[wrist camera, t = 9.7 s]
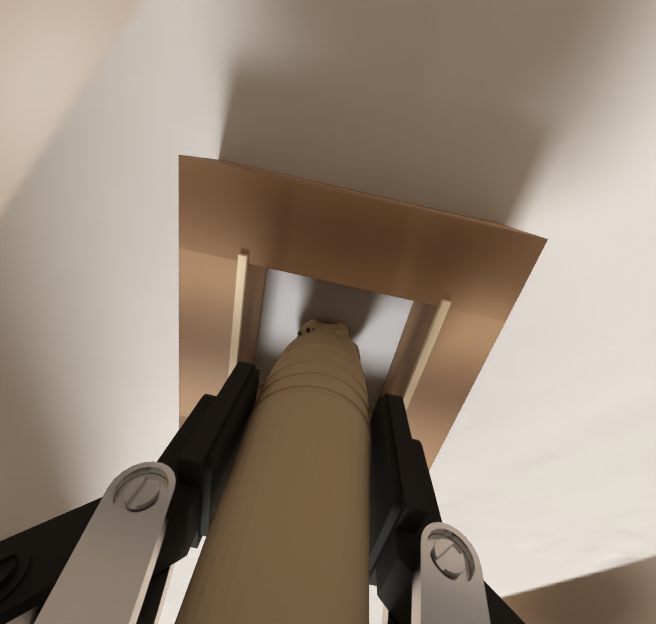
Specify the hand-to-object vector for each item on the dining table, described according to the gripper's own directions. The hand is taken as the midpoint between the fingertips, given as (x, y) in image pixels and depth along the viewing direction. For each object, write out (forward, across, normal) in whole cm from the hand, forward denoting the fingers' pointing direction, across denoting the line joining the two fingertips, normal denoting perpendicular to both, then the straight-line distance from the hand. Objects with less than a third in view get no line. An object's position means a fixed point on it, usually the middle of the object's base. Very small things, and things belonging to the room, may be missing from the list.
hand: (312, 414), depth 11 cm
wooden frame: (+5, 0, 0) cm, 5 cm away
